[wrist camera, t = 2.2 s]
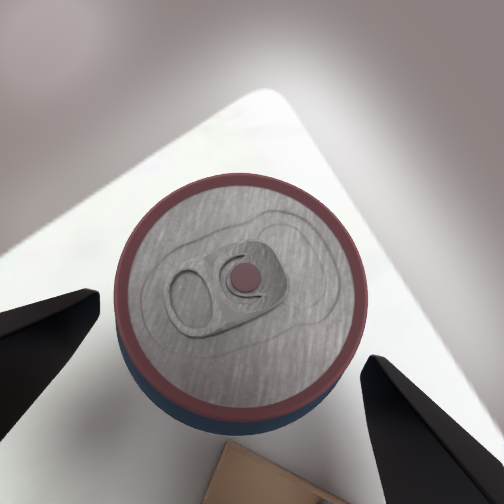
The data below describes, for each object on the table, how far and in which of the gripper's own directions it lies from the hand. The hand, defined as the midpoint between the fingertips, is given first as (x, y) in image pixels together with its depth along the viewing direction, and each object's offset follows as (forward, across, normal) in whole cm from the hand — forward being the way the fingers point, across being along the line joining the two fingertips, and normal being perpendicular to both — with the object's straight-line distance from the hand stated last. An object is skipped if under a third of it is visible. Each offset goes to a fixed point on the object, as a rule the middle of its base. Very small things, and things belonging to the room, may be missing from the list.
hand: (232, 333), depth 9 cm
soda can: (+7, 0, +6) cm, 9 cm away
